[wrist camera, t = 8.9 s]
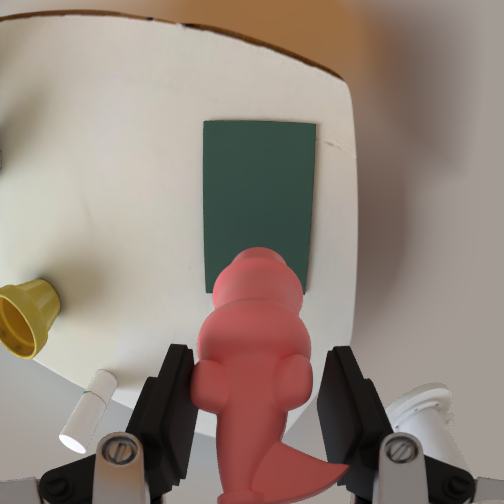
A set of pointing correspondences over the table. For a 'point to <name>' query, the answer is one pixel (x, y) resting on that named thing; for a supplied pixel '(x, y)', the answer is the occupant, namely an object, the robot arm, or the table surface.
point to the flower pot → (27, 316)
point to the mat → (257, 192)
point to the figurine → (258, 382)
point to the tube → (88, 412)
